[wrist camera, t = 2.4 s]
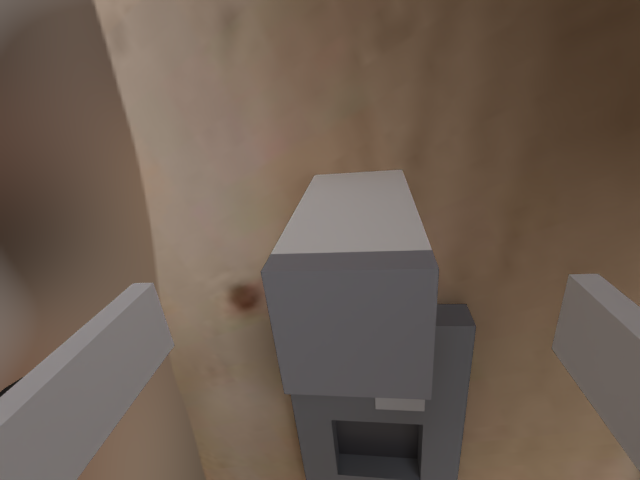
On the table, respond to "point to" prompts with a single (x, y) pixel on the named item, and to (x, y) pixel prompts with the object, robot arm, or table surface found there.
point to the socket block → (394, 419)
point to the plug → (354, 291)
